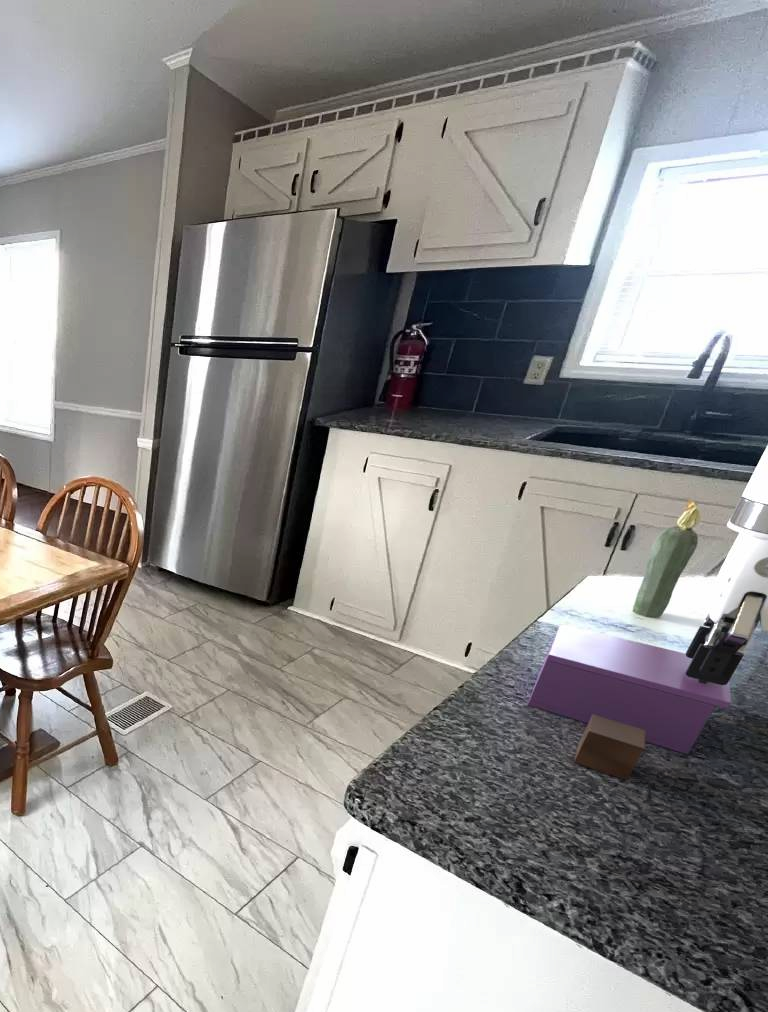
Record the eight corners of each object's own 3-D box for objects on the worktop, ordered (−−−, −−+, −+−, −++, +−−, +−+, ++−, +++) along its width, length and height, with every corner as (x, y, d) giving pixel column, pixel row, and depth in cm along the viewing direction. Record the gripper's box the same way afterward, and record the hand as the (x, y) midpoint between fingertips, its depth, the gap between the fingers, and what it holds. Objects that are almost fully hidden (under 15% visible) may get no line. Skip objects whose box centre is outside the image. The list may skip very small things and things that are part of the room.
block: (629, 761, 71) (646, 730, 70) (627, 780, 69) (644, 748, 67) (577, 744, 74) (592, 713, 72) (573, 762, 72) (588, 730, 70)
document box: (687, 712, 79) (713, 666, 76) (687, 754, 72) (715, 706, 69) (540, 671, 89) (557, 629, 86) (527, 704, 82) (546, 660, 79)
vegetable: (656, 633, 98) (718, 508, 89) (618, 625, 100) (674, 503, 92) (655, 623, 100) (715, 501, 92) (618, 615, 103) (672, 496, 95)
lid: (724, 669, 76) (747, 628, 74) (728, 709, 69) (754, 664, 66) (557, 628, 86) (573, 591, 84) (546, 659, 79) (563, 620, 76)
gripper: (859, 550, 58) (758, 714, 65) (832, 508, 68) (748, 654, 76) (736, 532, 63) (656, 687, 70) (729, 496, 73) (660, 634, 81)
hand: (705, 668), depth 73 cm, fingers closed on lid, 5 cm apart
